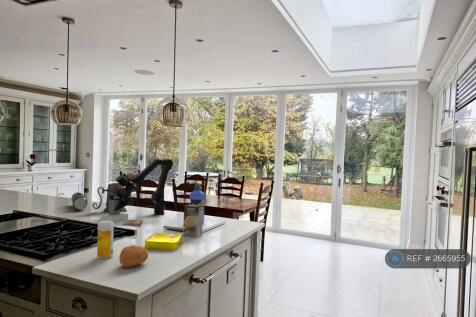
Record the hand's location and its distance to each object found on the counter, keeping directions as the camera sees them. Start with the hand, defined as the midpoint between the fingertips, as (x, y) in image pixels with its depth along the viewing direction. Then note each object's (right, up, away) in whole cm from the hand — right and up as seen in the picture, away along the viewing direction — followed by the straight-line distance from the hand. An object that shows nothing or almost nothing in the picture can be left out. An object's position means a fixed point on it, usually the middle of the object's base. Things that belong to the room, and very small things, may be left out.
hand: (112, 210), depth 203 cm
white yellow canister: (+23, -9, -67) cm, 71 cm away
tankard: (-13, -6, +29) cm, 33 cm away
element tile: (+43, -10, -47) cm, 65 cm away
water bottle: (+52, -9, +1) cm, 53 cm away
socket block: (0, -7, +1) cm, 7 cm away
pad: (+15, -7, -6) cm, 18 cm away
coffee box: (+54, -9, -27) cm, 60 cm away
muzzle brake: (-40, -5, +38) cm, 56 cm away
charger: (0, -6, +1) cm, 6 cm away
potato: (+37, -10, -75) cm, 84 cm away
